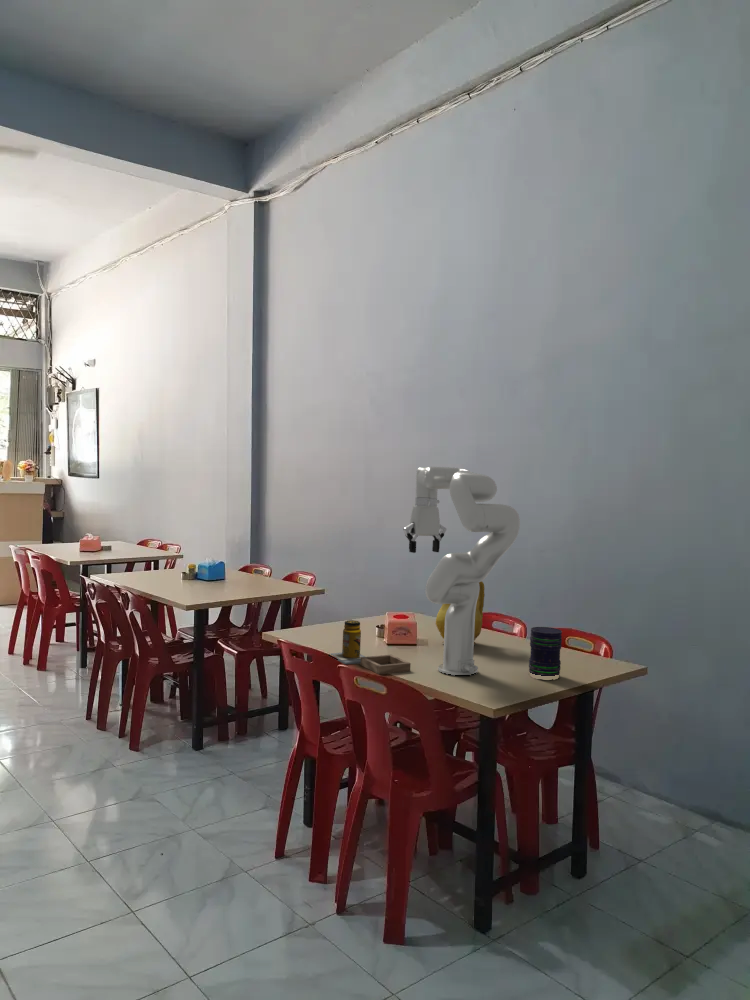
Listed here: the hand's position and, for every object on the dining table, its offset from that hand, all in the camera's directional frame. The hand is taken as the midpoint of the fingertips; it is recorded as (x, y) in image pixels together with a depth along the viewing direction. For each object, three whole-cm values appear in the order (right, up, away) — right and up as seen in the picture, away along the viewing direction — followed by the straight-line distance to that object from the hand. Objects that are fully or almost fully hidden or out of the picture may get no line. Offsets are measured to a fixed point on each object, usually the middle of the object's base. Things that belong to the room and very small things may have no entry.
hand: (424, 552), depth 268 cm
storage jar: (+37, -38, -22) cm, 58 cm away
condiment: (-26, -35, -9) cm, 44 cm away
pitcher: (+15, -36, +20) cm, 44 cm away
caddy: (-14, -36, -19) cm, 43 cm away
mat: (-25, -35, -9) cm, 44 cm away
